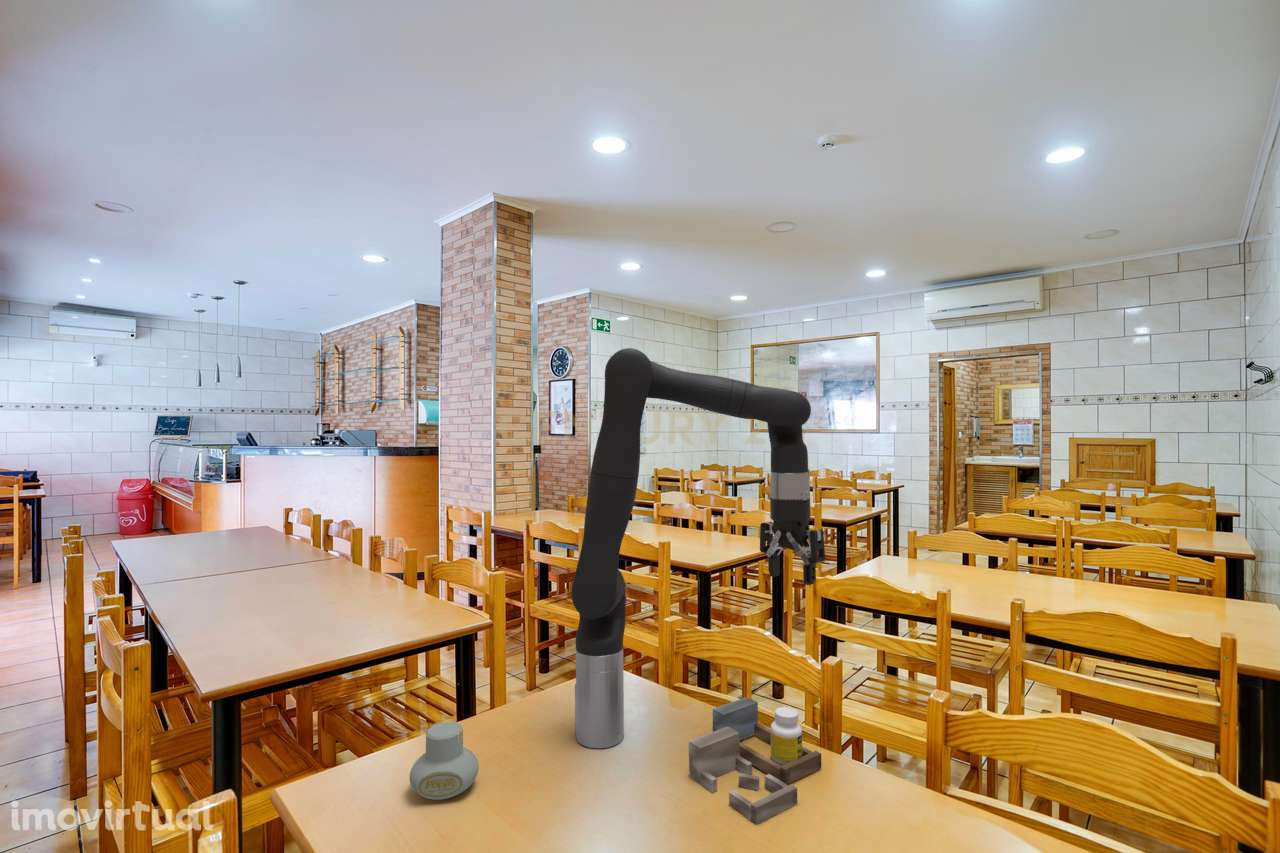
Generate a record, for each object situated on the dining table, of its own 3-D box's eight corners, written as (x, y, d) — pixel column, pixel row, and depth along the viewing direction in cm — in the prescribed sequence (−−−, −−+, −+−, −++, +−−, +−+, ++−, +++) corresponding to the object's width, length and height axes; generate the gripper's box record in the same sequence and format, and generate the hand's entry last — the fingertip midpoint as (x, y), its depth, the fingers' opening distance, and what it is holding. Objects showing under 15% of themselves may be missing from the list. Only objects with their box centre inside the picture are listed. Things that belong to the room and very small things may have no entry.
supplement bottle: (803, 778, 104) (802, 720, 105) (770, 774, 106) (770, 717, 106) (801, 761, 110) (801, 706, 110) (770, 758, 111) (770, 703, 111)
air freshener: (404, 807, 97) (404, 744, 97) (415, 778, 105) (415, 720, 106) (475, 801, 99) (475, 738, 99) (481, 773, 107) (480, 715, 107)
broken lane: (689, 776, 105) (688, 740, 105) (728, 759, 110) (727, 726, 110) (756, 824, 92) (756, 784, 92) (797, 803, 97) (796, 765, 97)
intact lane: (712, 740, 117) (712, 708, 117) (747, 727, 122) (746, 696, 122) (785, 785, 102) (785, 748, 102) (821, 767, 107) (820, 733, 107)
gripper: (749, 494, 122) (751, 576, 122) (805, 500, 110) (807, 590, 110) (775, 491, 126) (777, 571, 126) (832, 497, 115) (834, 584, 115)
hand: (791, 580), depth 118 cm, fingers open, 8 cm apart
